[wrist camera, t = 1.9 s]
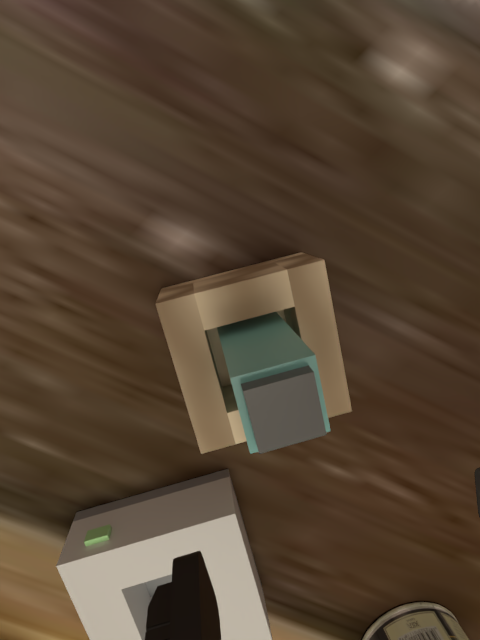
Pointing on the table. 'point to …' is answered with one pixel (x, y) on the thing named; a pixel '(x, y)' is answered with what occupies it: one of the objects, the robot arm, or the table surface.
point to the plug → (273, 383)
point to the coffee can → (416, 624)
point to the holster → (240, 304)
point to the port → (162, 558)
